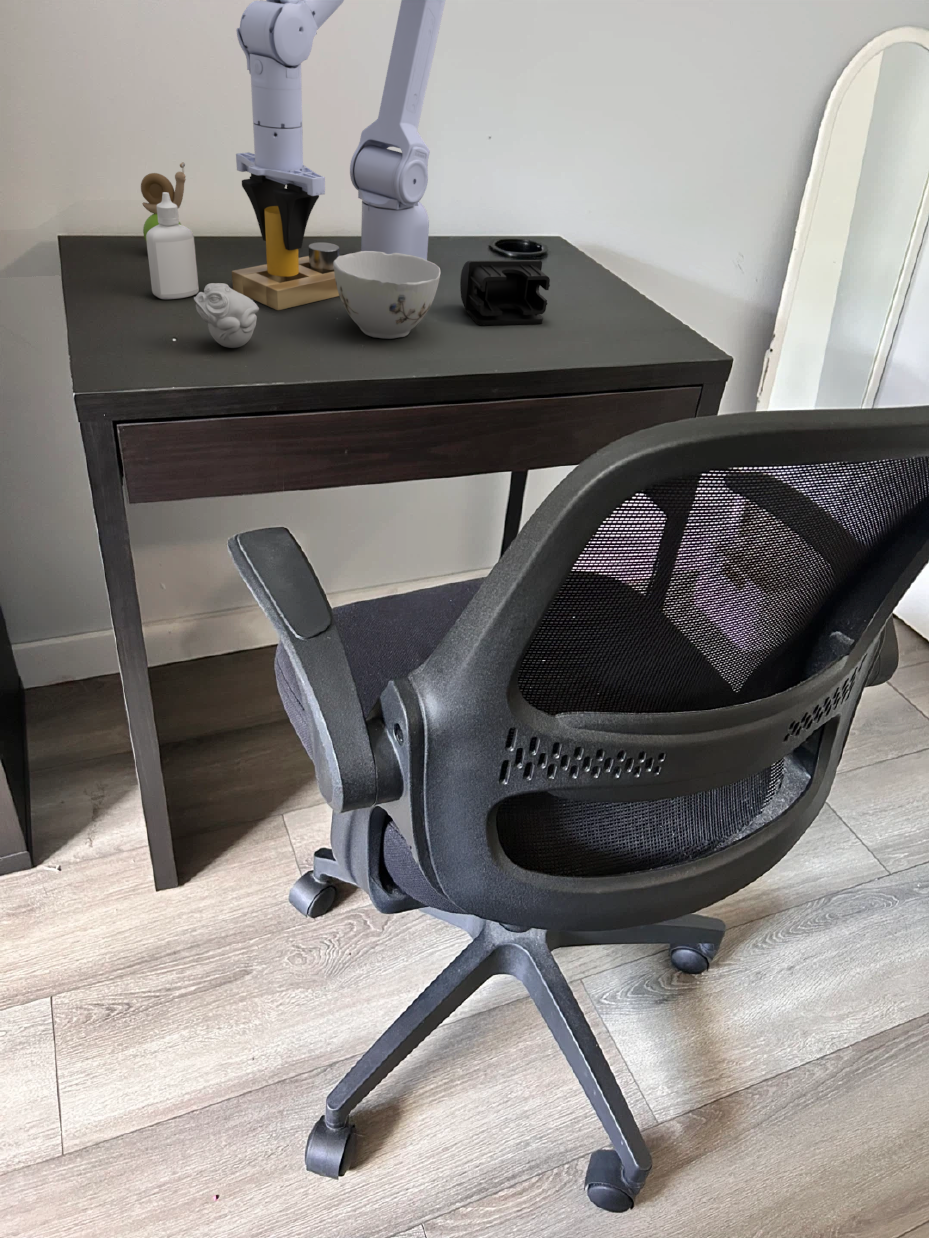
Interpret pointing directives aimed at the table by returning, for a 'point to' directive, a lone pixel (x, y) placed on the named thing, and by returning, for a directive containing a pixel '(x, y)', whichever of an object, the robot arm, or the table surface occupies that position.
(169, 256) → the eye dropper bottle
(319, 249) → the steel peg
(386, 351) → the table surface
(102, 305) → the table surface
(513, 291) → the end cap
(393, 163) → the robot arm
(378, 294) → the teacup
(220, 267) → the table surface
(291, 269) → the yellow peg
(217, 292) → the frog figurine
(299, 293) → the peg stand
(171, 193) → the snail figurine
